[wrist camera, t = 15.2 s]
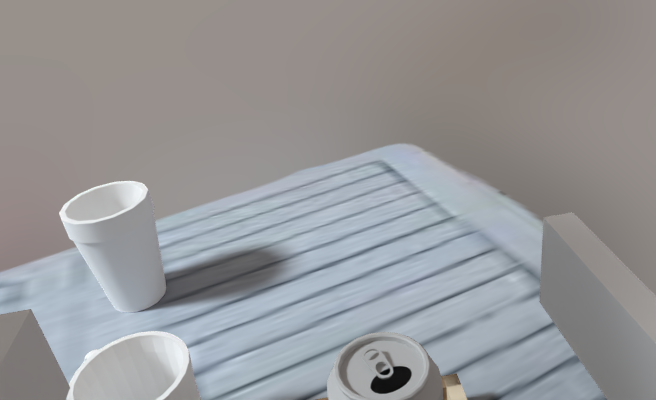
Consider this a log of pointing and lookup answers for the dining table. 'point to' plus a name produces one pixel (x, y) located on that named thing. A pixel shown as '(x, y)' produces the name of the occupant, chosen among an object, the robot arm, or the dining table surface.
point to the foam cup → (119, 242)
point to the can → (384, 370)
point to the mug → (137, 370)
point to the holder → (448, 388)
